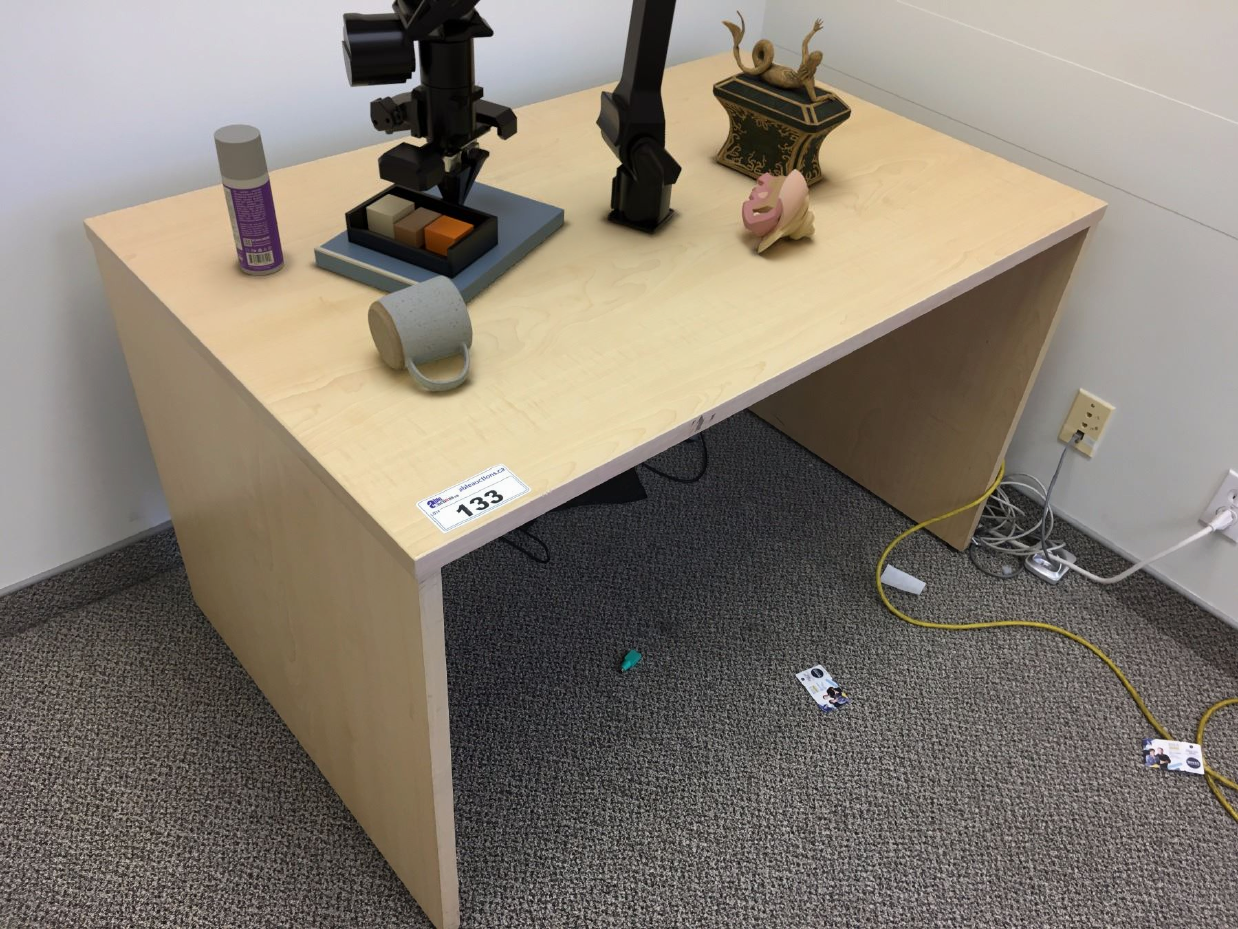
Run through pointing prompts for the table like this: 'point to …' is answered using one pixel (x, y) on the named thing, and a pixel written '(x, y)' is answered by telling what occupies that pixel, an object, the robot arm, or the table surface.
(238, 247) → the container
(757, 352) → the table surface
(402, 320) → the ceramic mug
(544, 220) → the blue flat slab
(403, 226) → the black open tray
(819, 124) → the decorative box
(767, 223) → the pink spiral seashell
